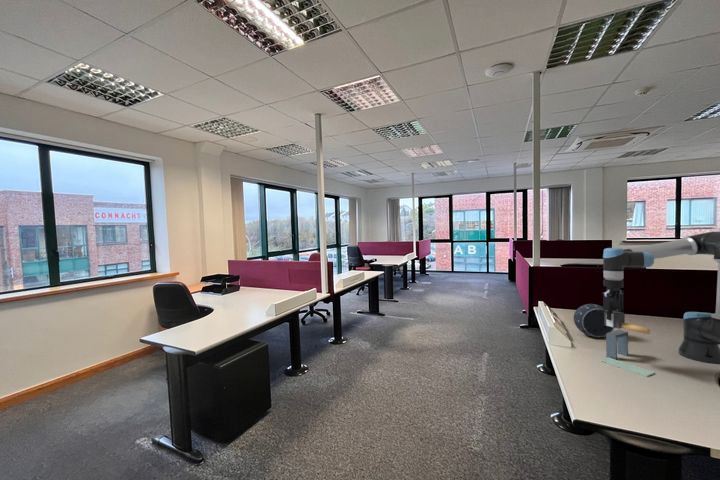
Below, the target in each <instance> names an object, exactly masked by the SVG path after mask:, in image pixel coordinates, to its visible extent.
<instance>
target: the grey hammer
mask: <svg viewBox="0 0 720 480" xmlns="http://www.w3.org/2000/svg"><path fill="white" fill-rule="evenodd" d="M612 314H614V328H615V329H617V330H621V329H624V330H628V331H633V332H637V333H641V334H646V335H650V333H651V328H650V327H645V326H640V325H636V324H633V323H632V324H631V323H627V322H625V320H626V319H625V317H626V316H625V312H617V311H614V310H613V313H612ZM604 325H606V313H605V312H604Z"/></svg>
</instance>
